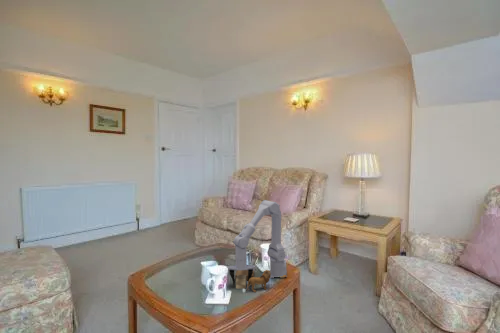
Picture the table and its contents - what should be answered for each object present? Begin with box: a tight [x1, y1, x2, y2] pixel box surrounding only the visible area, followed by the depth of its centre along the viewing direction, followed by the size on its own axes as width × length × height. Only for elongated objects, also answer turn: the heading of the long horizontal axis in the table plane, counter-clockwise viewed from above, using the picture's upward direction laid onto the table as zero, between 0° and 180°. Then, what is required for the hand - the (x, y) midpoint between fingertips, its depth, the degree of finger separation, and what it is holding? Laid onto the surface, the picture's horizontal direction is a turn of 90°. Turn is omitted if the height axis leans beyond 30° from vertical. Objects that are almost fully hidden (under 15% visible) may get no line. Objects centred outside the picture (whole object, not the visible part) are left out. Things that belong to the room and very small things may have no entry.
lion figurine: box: [245, 269, 271, 293], centre depth 135 cm, size 15×5×9 cm, turn 116°
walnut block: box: [234, 270, 255, 282], centre depth 150 cm, size 10×10×4 cm
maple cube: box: [235, 275, 247, 290], centre depth 139 cm, size 5×5×5 cm
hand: (241, 283), depth 139 cm, fingers open, 7 cm apart
